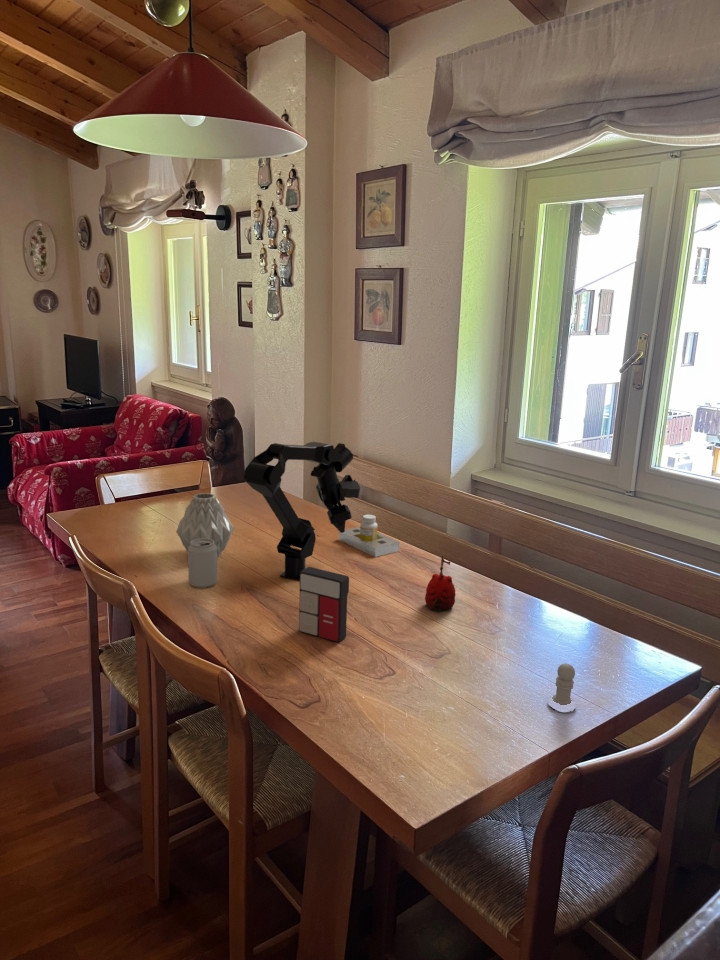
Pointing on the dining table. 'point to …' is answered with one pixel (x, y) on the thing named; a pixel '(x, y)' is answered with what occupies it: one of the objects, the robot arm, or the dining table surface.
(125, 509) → the dining table surface
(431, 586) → the red lumpy oval
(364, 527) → the supplement bottle
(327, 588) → the grey and red box
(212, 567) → the can
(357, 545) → the light grey flat slab
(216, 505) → the vase
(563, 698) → the chess piece
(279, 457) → the robot arm
